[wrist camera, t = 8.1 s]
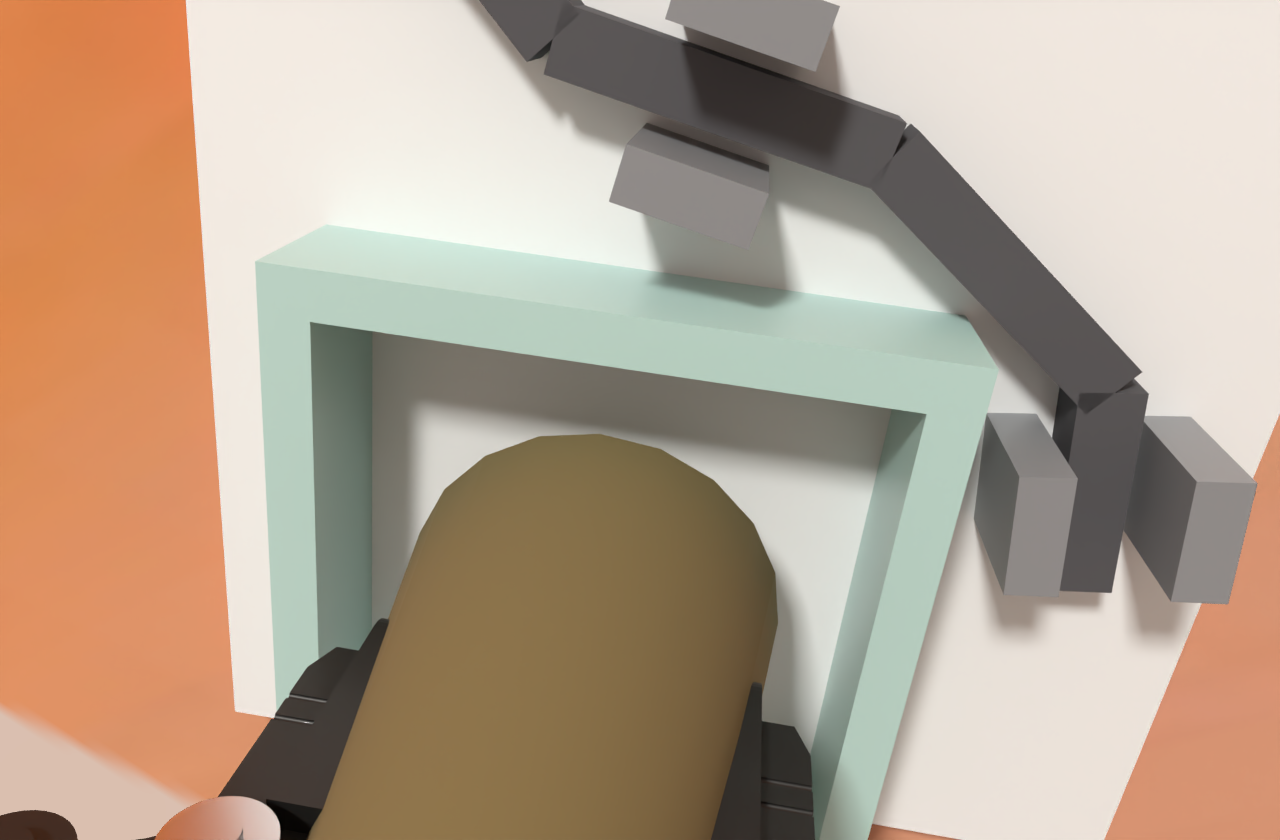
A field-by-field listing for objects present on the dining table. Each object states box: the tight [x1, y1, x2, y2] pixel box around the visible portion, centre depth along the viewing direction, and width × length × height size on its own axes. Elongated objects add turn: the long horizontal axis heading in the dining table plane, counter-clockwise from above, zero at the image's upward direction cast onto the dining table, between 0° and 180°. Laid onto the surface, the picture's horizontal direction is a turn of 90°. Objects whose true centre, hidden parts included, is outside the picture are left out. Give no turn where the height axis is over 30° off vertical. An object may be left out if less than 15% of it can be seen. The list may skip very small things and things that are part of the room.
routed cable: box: [479, 0, 1149, 593], centre depth 15 cm, size 17×3×1 cm, turn 46°
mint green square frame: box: [255, 224, 999, 840], centre depth 17 cm, size 11×11×2 cm
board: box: [186, 0, 1280, 840], centre depth 16 cm, size 18×19×3 cm
